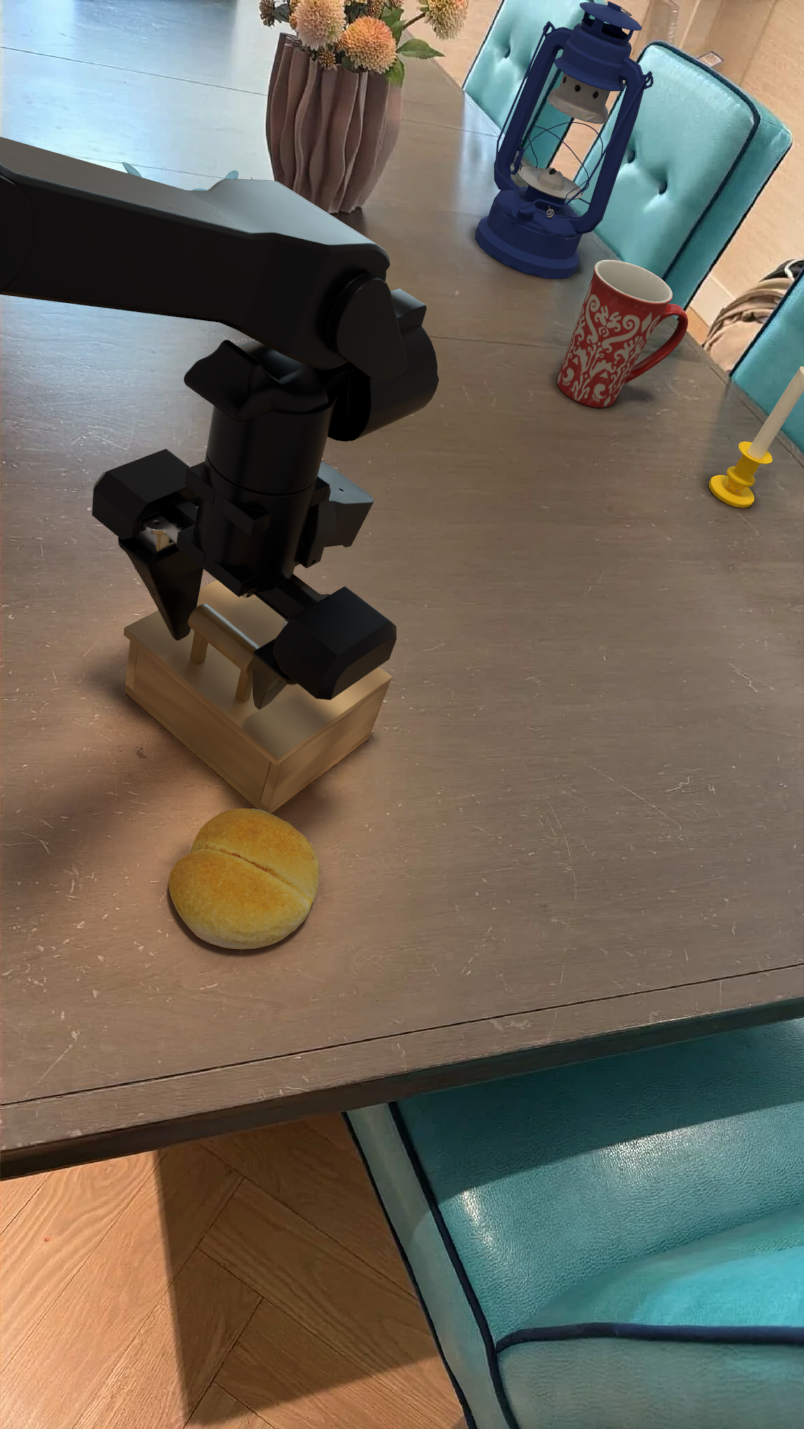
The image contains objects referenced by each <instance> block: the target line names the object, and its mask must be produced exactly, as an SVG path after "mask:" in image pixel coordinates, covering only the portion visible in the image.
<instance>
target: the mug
mask: <svg viewBox="0 0 804 1429" xmlns="http://www.w3.org/2000/svg"><path fill="white" fill-rule="evenodd" d="M592 273H593V274H592V277H591V280H590V283H589V286H588V288H587V291H586V294H585V297H584V300H583V302H582V306H581V308H580V312H579V314H578V318H577V321H576V323H575V326H574V329H573V332H572V335H571V336H570V340H569V344H568V345H567V349H566V351H565V355H564V357H563V361H562V363H561V364H560V368H559V372H558V375H557V378H556V384H557V386H558V388H559V390H560V391H561V392H562V393H563V394H564V395H566V396H567V398H569V399H571V400H573V401H575V402H577V403H578V404H581V405H585V406H587V407H591V408H607V407H608V408H609V407H611V406H612V405H613V404H614V403H615V402H616V400H617V398H618V397H619V394H620V393H621V391H622V389H623V386H624V385H626V384H628V383H629V382H631V381H633V380H635V379H637V378H638V377H640V376H642V375H643V374H645V373H647V372H648V371H649V370H651V369H652V368H654V367H655V366H657V365H658V364H660V363H661V362H662V361H663V360H665V359H666V358H667V357H668V356H669V355H670V354H671V353H672V352H674V350H675V349H676V348H677V347H678V346H679V344H680V343H681V342H682V340H683V338H684V337H685V335H686V333H687V330H688V326H689V317H688V315H687V313H686V311H685V310H684V308H683V307H682V306H680V305H678V304H675V303H670V302H671V301H672V300H673V296H674V294H673V291H672V289H671V287H670V286H669V284H667V283H666V282H665V281H664V280H663V279H662V278H661V277H660V276H658V275H656V274H655V273H654V272H651V271H650V270H648V269H646V268H644V267H642V266H639V265H636V264H633V263H630V262H628V261H627V262H626V261H623V260H616V259H603V260H599V261H597V262H596V263H595V264H594V267H593V272H592ZM672 316H676V317H678V321H677V325H676V327H675V329H674V331H673V333H672V334H671V335H670V337H669V338H668V339H666V341H665V342H664V343H663V344H662V345H661V346H660V347H658V349H656V350H655V351H654V352H651V354H649V355H648V356H646V357H645V358H644V359H642V360H641V361H639V362H637V360H638V358H639V357H640V355H641V353H642V352H643V349H644V348H645V346H646V344H647V342H648V340H649V338H650V336H651V335H652V333H653V332H654V329H655V328H657V326H658V325H659V324H660V323H661V322H662V321H664V320H665V319H667V318H669V317H672Z"/></svg>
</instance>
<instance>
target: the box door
mask: <svg viewBox="0 0 804 1429" xmlns="http://www.w3.org/2000/svg"><path fill="white" fill-rule="evenodd" d="M284 620H285V619H284V618H283V617H282V616H280V615H279V614H278V613H277V612H275V611H274V610H273V609H272V608H270V607H269V606H268V605H267V604H265V603H264V602H263V601H261V600H260V599H259V598H258V597H256V596H255V595H253V596H251V597H249V598H244V597H242V596H241V597H238V596H236V595H235V594H234V593H233V592H231V591H230V590H229V589H228V588H226V587H225V586H224V585H223V584H222V583H220V582H219V581H218V580H217V579H215V580H214V581H211V582H210V583H207V584H206V585H203V586H202V587H200V592H199V597H198V603H197V607H196V608H195V609H194V611H193V612H192V613H191V615H190V617H189V619H188V625H189V627H190V628H191V631H190V633H189V635H188V636H186V637H184V638H183V639H181V640H179V641H176V640H175V639H174V638H173V637H172V635H171V633H170V631H169V629H168V627H167V626H166V624H165V622H164V620H163V618H162V616H161V614H160V612H159V610H158V609H157V610H155V611H153V612H151V613H150V614H147V615H146V616H144V617H141V618H140V619H138V620H136V621H134V622H132V623H130V624H128V625H127V626H125V627H124V628H123V636H124V637H125V638H126V639H128V640H129V642H130V641H131V642H132V643H134V644H135V645H136V646H137V647H138V648H139V649H141V650H142V651H143V652H144V653H145V654H146V655H148V656H149V657H150V658H151V659H152V660H153V661H154V662H156V663H157V664H158V665H159V666H160V667H161V668H163V669H164V670H165V671H166V672H167V673H168V674H170V675H171V676H172V677H173V678H174V679H175V680H177V681H178V682H179V683H180V684H181V685H182V686H184V687H185V688H186V689H187V690H188V691H189V692H191V693H192V694H193V695H194V696H195V697H196V698H198V699H199V700H200V701H201V702H202V703H203V704H205V705H206V706H207V707H208V708H209V709H210V710H212V711H213V712H214V713H215V714H216V715H217V716H219V717H220V718H221V719H222V720H223V721H224V722H226V723H227V724H228V725H229V726H230V727H231V728H233V729H234V730H235V731H236V732H237V733H238V734H240V735H241V736H242V737H243V738H244V739H245V740H247V741H248V742H249V743H250V744H251V745H252V746H254V747H255V748H256V749H257V750H258V751H259V752H260V753H262V754H263V755H264V756H265V757H266V758H267V759H269V760H270V761H271V762H272V763H273V764H274V765H278V764H279V763H281V762H282V761H283V760H285V759H286V758H288V757H289V756H290V755H292V754H293V753H294V752H296V751H297V750H299V749H300V748H301V747H303V746H304V745H306V744H307V743H308V742H310V741H311V740H312V739H314V738H315V737H317V736H318V735H319V734H321V733H322V732H324V731H325V730H326V729H328V728H329V727H330V726H332V725H333V724H335V723H336V722H337V721H339V720H340V719H342V718H343V717H344V716H346V715H347V714H348V713H350V712H351V711H353V710H354V709H355V708H357V707H358V706H360V705H361V704H362V703H364V702H365V701H366V700H368V699H369V698H371V697H372V696H373V695H375V694H376V693H378V692H379V691H380V690H382V689H383V688H384V687H386V686H387V685H389V686H390V684H391V681H392V679H393V677H392V675H390V673H387V671H386V670H384V669H383V668H382V667H381V666H379V667H378V668H376V669H375V670H373V671H372V672H370V673H369V674H367V675H366V676H365V677H363V678H362V679H360V680H359V681H357V682H356V683H355V684H353V685H352V686H350V687H349V688H347V689H346V690H345V691H343V692H342V693H340V694H339V695H337V696H336V697H334V698H333V699H332V700H323V699H316V698H314V697H313V696H312V695H311V694H309V693H308V692H307V691H306V690H305V689H303V688H302V687H301V686H300V685H298V684H295V685H289V684H287V685H286V686H285V687H284V688H283V690H282V691H281V692H280V693H279V694H278V695H277V696H276V697H275V698H274V700H273V701H272V702H271V703H269V704H268V705H267V706H265V707H264V708H262V709H260V710H258V709H257V708H256V707H255V706H254V700H253V651H255V650H256V649H258V648H260V647H261V646H263V645H265V644H266V643H268V642H270V641H271V640H273V639H275V638H276V637H277V636H278V634H279V633H280V632H281V631H282V627H283V624H284Z"/></svg>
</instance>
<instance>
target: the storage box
mask: <svg viewBox="0 0 804 1429" xmlns="http://www.w3.org/2000/svg"><path fill="white" fill-rule="evenodd" d="M389 687H390V684H389V685H387V686H386V687H384V688H383V689H382V690H380V691H379V692H378V693H376V694H375V695H373V696H372V697H371V698H369V699H368V700H366V701H365V702H364V703H362V704H361V705H360V706H358V707H357V708H355V709H354V710H353V711H351V712H350V713H348V714H347V715H346V716H344V717H343V718H342V719H340V720H339V721H337V722H336V723H335V724H333V725H332V726H330V727H329V728H328V729H326V730H325V731H324V732H322V733H321V734H319V735H318V736H317V737H315V738H314V739H312V740H311V741H310V742H308V743H307V744H306V745H304V746H303V747H301V748H300V749H299V750H297V751H296V752H294V753H293V754H292V755H290V756H289V757H288V758H286V759H285V760H283V761H282V762H281V763H279V764H278V765H274V764H273V763H272V762H271V761H270V760H269V759H267V758H266V757H265V756H264V755H263V754H262V753H260V752H259V751H258V750H257V749H256V748H255V747H254V746H252V745H251V744H250V743H249V742H248V741H247V740H245V739H244V738H243V737H242V736H241V735H240V734H238V733H237V732H236V731H235V730H234V729H233V728H231V727H230V726H229V725H228V724H227V723H226V722H224V721H223V720H222V719H221V718H220V717H219V716H217V715H216V714H215V713H214V712H213V711H212V710H210V709H209V708H208V707H207V706H206V705H205V704H203V703H202V702H201V701H200V700H199V699H198V698H196V697H195V696H194V695H193V694H192V693H191V692H189V691H188V690H187V689H186V688H185V687H184V686H182V685H181V684H180V683H179V682H178V681H177V680H175V679H174V678H173V677H172V676H171V675H170V674H168V673H167V672H166V671H165V670H164V669H163V668H161V667H160V666H159V665H158V664H157V663H156V662H154V661H153V660H152V659H151V658H150V657H149V656H148V655H146V654H145V653H144V652H143V651H142V650H141V649H139V648H138V647H137V646H136V645H135V644H134V643H132V642H131V641H130V640H129V646H128V654H127V666H126V676H125V686H124V693H125V694H126V695H128V696H129V698H131V699H132V700H133V701H134V702H135V703H136V704H138V705H139V706H140V707H141V708H142V709H143V710H145V711H146V712H147V713H148V714H149V715H150V716H151V717H153V719H155V720H156V721H157V722H158V723H159V724H160V725H161V726H163V727H164V728H165V729H166V730H167V731H168V732H170V734H172V736H174V737H175V738H176V739H177V740H179V741H180V742H181V743H182V744H183V745H184V746H185V747H186V748H188V749H189V750H190V751H191V752H192V753H193V754H194V755H196V756H197V758H199V759H200V760H201V761H202V762H204V763H205V764H206V765H207V766H208V767H209V768H210V769H211V770H213V771H214V772H215V773H216V774H217V775H218V776H219V777H221V778H222V780H224V781H225V782H226V783H227V784H228V785H230V786H231V787H232V788H233V789H234V790H235V791H236V792H237V793H239V795H240V796H242V797H243V798H244V799H245V800H247V801H248V802H249V803H250V804H251V805H252V806H253V807H254V808H255V809H259V810H264V811H266V812H268V813H270V814H273V813H274V812H275V811H276V810H278V809H279V808H280V807H281V806H283V805H284V804H285V803H287V802H288V801H289V800H291V799H292V798H294V797H295V796H296V795H297V794H299V793H300V792H301V791H303V790H304V789H305V788H306V787H308V786H309V785H310V784H312V783H313V782H314V781H316V780H317V779H318V778H319V777H321V776H322V775H323V774H325V773H327V771H329V770H330V769H331V768H333V767H334V766H335V765H336V764H338V763H339V762H340V761H342V760H343V759H344V758H346V757H347V756H348V755H350V754H351V753H352V752H353V751H356V749H357V748H359V747H360V746H361V745H363V744H364V743H365V742H367V741H368V740H369V739H370V736H371V734H372V731H373V729H374V727H375V723H376V721H377V719H378V716H379V714H380V711H381V708H382V705H383V702H384V701H385V697H386V695H387V692H388V689H389Z"/></svg>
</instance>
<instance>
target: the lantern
mask: <svg viewBox="0 0 804 1429" xmlns="http://www.w3.org/2000/svg"><path fill="white" fill-rule="evenodd" d="M606 3H607V4H603V3H597V2H591V1H584V2H580V3H579V7H580V8H581V9H582V10H583V11H584V12H583V16H582V19H581V22H579V23H576V25H574V26H573V28H572V29H571V28H568V27H565V26H559V27H557V28H556V26H555V25H554V24H553V23H552V22H551V21H550V20H548V21H547V22H546V23H545V25H544V26H543V28H542V33H541V35H540V38H539V40H538V42H537V45H536V47H535V50H534V52H533V54H532V57H531V59H530V62H529V64H528V66H527V69H526V71H525V73H524V76H523V78H522V79H521V82H520V85H519V87H518V91H517V92H516V95H515V97H514V99H513V101H512V104H511V107H510V109H509V111H508V114H507V116H506V118H505V122H503V126H502V128H501V130H500V133H499V135H498V137H497V140H496V146H495V147H496V148H495V159H494V161H493V162H494V163H493V181H494V184H495V185H496V187H497V190H499V192H498V193H497V194H496V195H495V197H494V198H493V201H492V204H491V207H490V210H489V212H488V214H487V216H484V217H483V218H480V220H479V221H478V223H477V227H476V228H475V234H474V239H475V241H476V243H477V244H478V246H479V247H480V248H481V249H482V250H483V251H484V252H485V253H486V254H487V255H489V256H490V257H492V258H493V259H495V260H496V261H498V262H499V263H501V264H503V265H504V266H507V267H510V268H512V269H513V270H517V271H519V272H521V273H523V274H527V275H530V276H535V277H538V278H542V279H552V280H562V279H568V278H570V277H572V276H573V275H574V274H576V273H577V270H578V267H579V263H580V261H581V258H580V254H579V252H578V247H579V245H580V242H581V239H582V237H583V235H584V234H585V235H586V234H590V233H591V232H593V231H594V230H595V229H596V228H597V227H598V226H599V225H600V223H601V222H602V221H603V220H604V217H605V214H606V211H607V207H608V204H609V202H610V199H611V197H612V193H613V190H614V187H615V184H616V182H617V178H618V175H619V172H620V169H621V167H622V163H623V160H624V157H625V154H626V152H627V148H628V145H629V142H630V141H631V140H630V139H631V137H632V133H633V131H634V128H635V125H636V122H637V118H638V115H639V112H640V108H641V104H642V100H643V96H644V92H645V90H647V89H649V88H652V87H653V85H654V82H655V81H654V76H653V71H651V70H648V71H647V73H644V72H643V68H642V66H641V64H640V63H638V62H637V61H635V60H634V59H632V58H631V57H630V56H631V53H632V50H633V47H632V44H631V42H630V40H631V39H632V37H633V35H634V32H639V31H642V29H643V27H642V25H641V24H640V23H639V21H638V20H635V19H634V18H633V17H632V16H633V14H632V13H631V12H629V11H628V10H626V9H625V8H624V7H623V6H621V5H618V4H617V3H614V2H612V1H609V0H607V1H606ZM589 15H590V16H591V17H593V18H594V19H593V18H591V17H589ZM550 29H551V30H550ZM623 29H624V30H628V31H629V32H628V33H627V32H626V31H624V30H623ZM549 30H550V31H549ZM561 50H562V53H561V55H560V56H559V57H557V56H558V53H559V52H560V51H561ZM554 65H555V67H556V68H557V69H558V70H559V71H561V73H563V74H562V76H561V80H560V82H559V85H558V86H557V87H556V88H553V89H552V90H551V91H550V93H549V94H548V96H547V99H546V100H547V102H548V104H549V105H550V106H552V107H553V108H554V109H556V110H557V111H558V112H560V113H562V114H564V115H565V116H568V117H571V118H573V119H576V120H579V121H581V122H578V121H567V122H562V123H559V124H557V125H554V126H551V127H549V128H545V127H541V126H538V125H531V126H530V127H528V126H529V123H530V121H531V118H532V116H533V114H534V111H535V108H536V107H537V104H538V102H539V100H540V97H541V95H542V92H543V89H544V87H545V85H546V82H547V81H548V78H549V75H550V72H551V70H552V68H553V66H554ZM624 81H625V82H624ZM648 83H649V84H648ZM647 84H648V85H647ZM611 92H624V93H623V96H622V99H621V103H620V106H619V108H618V111H617V115H616V118H615V121H614V124H613V128H612V130H611V135H610V137H609V141H608V143H607V145H606V146H605V148H604V142H603V139H602V136H601V134H600V133H599V132H598V131H597V129H595V128H594V127H592V126H591V125H589V124H594V125H604V124H607V122H608V120H609V118H608V116H609V109H608V107H607V102H608V99H609V96H610V94H611ZM513 110H514V111H513ZM512 112H513V113H512ZM511 115H512V116H511ZM510 117H511V118H510ZM509 120H510V121H509ZM508 122H509V124H508ZM583 122H584V123H583ZM586 123H589V124H586ZM566 124H579V125H583V126H585V127H588V128H590V129H592V130H593V131H594V132H595V134H596V135H597V136H598V137H599V139H600V142H601V152H600V156H599V159H598V160H597V163H596V164H595V166H594V169H593V170H592V172H591V173H590V175H589V172H588V171H587V168H586V167H585V165H584V164H583V162H582V161H581V160H580V158H579V157H578V156H577V154H576V153H575V152H574V150H572V148H571V147H570V146H569V145H568V144H567V143H566V142H565V140H562V139H561V138H560V137H559V136H558V135H556V134H555V133H554V132H552V131H551V130H552V129H554V128H557V127H559V126H563V125H566ZM507 125H508V126H507ZM506 127H507V128H506ZM527 128H528V130H527ZM532 128H538V129H541V130H543V131H541V132H540V133H538V134H537V135H536V136H534V137H533V138H532V139H530V135H529V133H530V130H532ZM505 129H506V132H505ZM526 131H527V132H526ZM504 132H505V133H504ZM545 132H548V133H549V134H551V135H553V136H554V137H555V138H556V139H558V140H559V141H560V142H561V143H562V144H564V145H565V146H566V148H567V149H568V150H570V151H571V153H572V154H573V156H574V157H575V158H576V159H577V161H578V162H579V163H580V165H581V166H582V168H583V169H584V171H585V173H586V176H587V179H586V180H585V181H583V182H582V183H581V184H580V185H578V184H577V183H576V182H574V181H573V180H571V179H570V178H569V177H566V176H565V175H564V174H563V173H562V172H561V171H560V170H559V171H558V170H557V169H556V168H555V167H552V166H551V167H547V168H543V167H539V166H538V165H539V162H538V157H537V155H536V152H535V151H534V148H533V145H532V143H533V142H534V140H536V139H537V137H539V136H541V135H542V134H544V133H545ZM525 133H526V134H527V139H528V142H529V143H528V144H527V146H526V147H525V148H524V147H522V146H521V145H522V143H523V138H524V136H525ZM503 134H504V137H503V139H502V136H503ZM501 139H502V142H501V144H500V140H501ZM529 146H530V147H531V148H530V149H531V151H532V154H533V156H534V158H535V162H536V165H535V166H531V165H526V166H523V165H522V160H523V157H524V154H525V152H526V151H527V150H528V147H529ZM517 153H518V154H517ZM601 162H602V164H601ZM512 164H513V170H512ZM600 164H601V167H600V169H599V173H598V176H597V178H596V182H595V186H594V189H593V192H592V195H591V198H590V202H589V201H587V200H585V199H583V198H582V197H583V196H584V192H585V191H586V190H588V188H589V186H590V182H591V180H592V178H593V176H594V174H595V173H596V171H597V169H598V168H599V166H600ZM517 174H518V176H519V178H520V179H521V180H522V181H523V182H524V183H525V184H527V186H519V185H518V184H516V182H515V181H514V179H513V178H512V176H516V175H517ZM583 185H584V186H583ZM581 186H583V187H582V188H581ZM575 200H579V201H581V202H583V203H585V204H587V205H588V208H587V210H586V211H585V212H584V214H582V215H579V214H578V213H577V211H575V210H574V208H573V207H572V206H571V205H570V203H571V202H572V201H575Z"/></svg>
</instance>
